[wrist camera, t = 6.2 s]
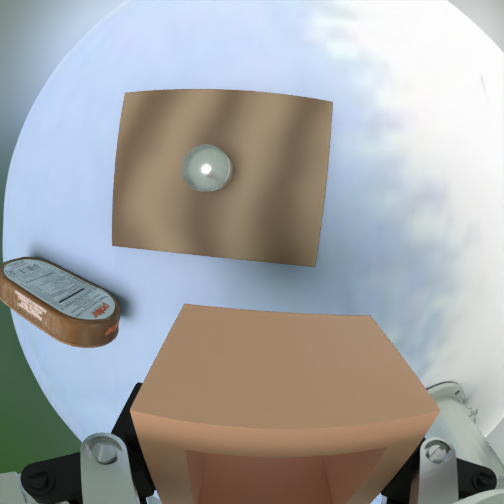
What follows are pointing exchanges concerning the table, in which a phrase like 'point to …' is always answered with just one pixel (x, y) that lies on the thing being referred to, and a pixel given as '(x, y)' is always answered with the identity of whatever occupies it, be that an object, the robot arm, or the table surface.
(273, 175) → the board
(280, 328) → the hollow square tube
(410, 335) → the table surface
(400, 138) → the table surface
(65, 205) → the table surface
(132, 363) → the table surface
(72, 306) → the tin
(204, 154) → the domed metal cylinder
